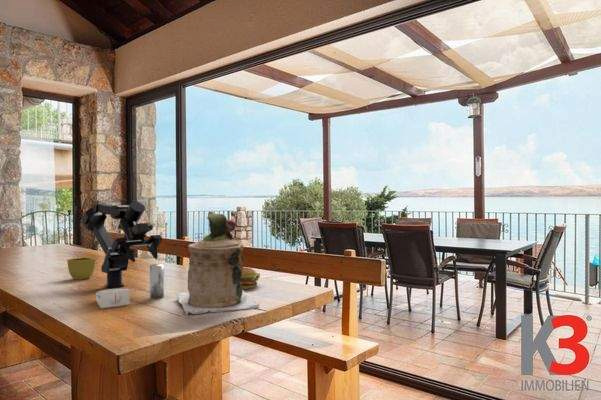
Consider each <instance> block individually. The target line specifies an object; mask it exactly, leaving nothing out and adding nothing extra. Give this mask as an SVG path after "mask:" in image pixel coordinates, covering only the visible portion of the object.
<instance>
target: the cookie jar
mask: <svg viewBox="0 0 601 400" xmlns="http://www.w3.org/2000/svg"><path fill="white" fill-rule="evenodd" d="M207 214H208V215H207V217H206V219H207V220H208V222H209V223H208V225H209V226H208V227H209V233H210V234H208V235H207V236H204V238H202V239H201V240H199V241H197V242H195V243H191V244H188V246H187V247H188V251H189V252H190V253H189V254H190V255H189V262H188V265H189V266H188V270H187V290H188V292H178V293H177V294H176V298H177V301H178V303H179V304H180V305H181V306H182V308H183V310H184V312H185V314H186V315H188V313H191V314H192V315H201V314H205V313H221V312H224V313H225V312H231V311H243V310H255V309H257V308H259V306H260V302H259V301H258V300H256V299H254V297H253V296H251V295H250V294H248V293H246V292H245V291H244V289H242V286H241V284H240V279H241V276H242V272H243V269H244V267H245V266H244V265H243V264H244V255H243V251H244V245H243V243H239V242H238V241H237V240H236V239H235V238H234V237H233V235H232V232H233V231H235V228H236V222H235V221H234V220H231V219H227V216H226V215H224V214H223V213H215V212H213V211H209V212H208V213H207Z"/></svg>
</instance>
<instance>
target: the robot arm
mask: <svg viewBox="0 0 601 400" xmlns="http://www.w3.org/2000/svg"><path fill="white" fill-rule="evenodd" d="M145 210H146V206H145V205H144V204H142V203H141V202H139V201H137V199H135V200H134V199H132V200H130V203H129V204H123V205H122V204H118V205H117V204H116V205H115V204H107V203H105V202H103V203H101V202H95V203H93V205H92V207H90V208H89V209H87V210H85V212H84V213H83V215H82V218H81V223H82V224H83V227H84V228H85V229H86V230H88V231H90V232H92V233H93V235H94V237H95V238H96V240H97V242H98V244H99V245H100V247H101V249H102V251H103V253H104V259H103V263H102V265H101V266H100V267H101V268H100V270H101V273H104V274H106V283H105V284H104V286H105V287H106V288H108V289H113V288H119V287H121V288H122V287H125V285H124V283H123V271H127V270H128V266H129V261H131V262H133V263H135V262H136V258H135V255H134V253H133V251H132V249H131V248H130V247H141V246H146V247H147V249H148V251H149V253H150V254H151V256H152V257H153V259H155V260H158V257H159V256H158V248H159V246H160V245H161V242H162V241H163V240H164V239H163V237H162V235H161V234H154V235H153V234H152V235H150V236H149V238H147V239H145V238H146V237H147V233H148V232H149V233H150V232H151V231H152V230H153V229H154V227H153V224H152V223H151V221H148V222H143V223H142V222H141V223H140V222H139V221H140V220H141V218H142V216H143V214H144V213H145ZM107 215H109V217H110V218H112V219H113V220H119V224H118V226H117V229H118V230H122V232H123V234H124V235H123V237H116V238H115V239H114V240H113V239H112V237H111V236H110V234H109V232H108V230H107V228H106V227H105V222H106V220H107V217H108V216H107ZM137 222H139V223H137Z"/></svg>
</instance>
